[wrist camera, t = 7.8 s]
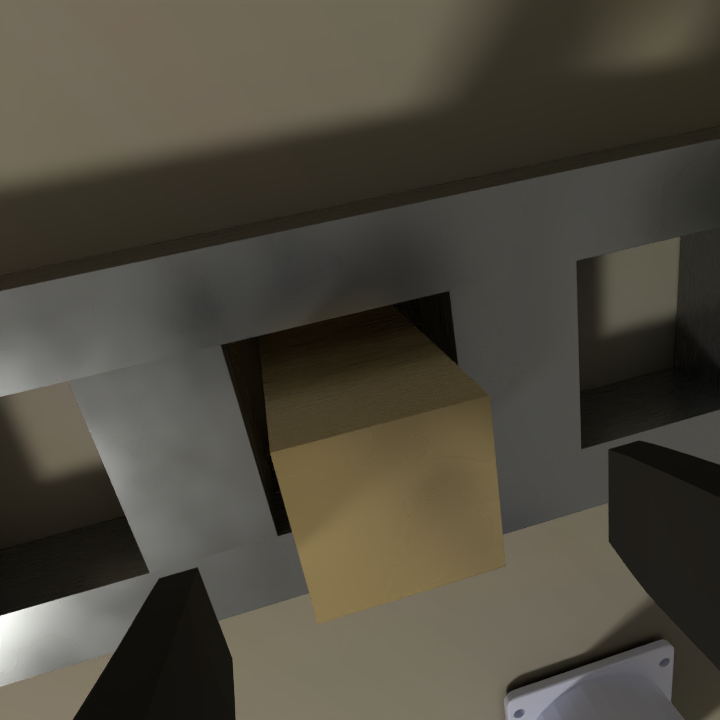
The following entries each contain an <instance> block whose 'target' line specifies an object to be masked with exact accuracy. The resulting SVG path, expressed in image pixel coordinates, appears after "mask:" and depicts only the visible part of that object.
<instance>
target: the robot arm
mask: <svg viewBox="0 0 720 720" xmlns="http://www.w3.org/2000/svg"><path fill="white" fill-rule="evenodd" d="M608 492H609V542H610V544H611V545H612V547H613V548H614V549H615V551H616V552H617V554H618V555H619V556H620V558H621V559H622V560H623V562H624V563H625V565H626V566H627V567H628V569H629V570H630V571H631V573H632V574H633V575H634V577H635V578H636V579H637V581H638V582H639V583H640V584H641V586H642V587H643V588H644V590H645V591H646V592H647V593H648V595H649V596H650V597H651V598H652V599H653V600H654V601H655V602H656V603H657V604H658V605H659V607H660V608H661V609H662V610H663V611H664V612H665V613H666V614H667V615H668V616H669V617H670V618H671V619H672V620H673V622H674V623H675V624H676V625H677V626H678V627H679V628H680V629H681V630H682V631H683V632H684V633H685V634H686V635H687V636H688V638H689V639H690V640H691V641H692V642H693V643H694V644H695V645H696V646H697V647H698V648H699V649H700V650H701V651H702V652H703V653H704V654H705V655H706V656H707V657H708V659H709V660H710V661H711V662H712V663H713V664H714V665H715V666H716V667H717V668H718V669H719V670H720V465H719V464H716V463H713V462H710V461H707V460H704V459H701V458H698V457H695V456H692V455H689V454H685V453H682V452H679V451H676V450H673V449H669V448H666V447H663V446H659V445H656V444H652V443H648V442H644V441H640V440H639V441H635V442H632V443H628V444H625V445H621V446H618V447H614V448H611V449H608ZM673 662H674V647H673V646H672V645H671V644H670V643H669V642H668V641H667V640H664V639H662V640H658V641H655V642H652V643H649V644H646V645H643V646H640V647H637V648H634V649H631V650H628V651H626V652H623V653H620V654H617V655H614V656H611V657H608V658H605V659H602V660H599V661H596V662H594V663H591V664H588V665H585V666H582V667H579V668H576V669H573V670H570V671H567V672H564V673H562V674H559V675H556V676H553V677H550V678H547V679H544V680H541V681H538V682H535V683H533V684H530V685H527V686H524V687H521V688H518V689H515V690H513V691H511V692H509V693H508V694H507V695H506V697H505V698H504V707H505V716H506V720H685V719H684V718H683V717H682V715H681V714H680V713H679V712H678V710H677V709H676V708H675V707H674V705H673V704H672V703H671V695H672V679H673ZM73 720H235V697H234V679H233V662H232V657H231V654H230V651H229V649H228V646H227V643H226V641H225V638H224V635H223V633H222V630H221V627H220V625H219V622H218V620H217V617H216V614H215V612H214V609H213V606H212V604H211V601H210V598H209V596H208V593H207V590H206V588H205V585H204V582H203V580H202V577H201V575H200V572H199V569H198V567H196V568H193V569H190V570H186V571H183V572H179V573H176V574H172V575H169V576H165V577H162V578H159V579H158V581H157V582H156V584H155V585H154V587H153V589H152V590H151V592H150V593H149V595H148V597H147V598H146V600H145V602H144V603H143V605H142V607H141V609H140V610H139V612H138V614H137V615H136V617H135V619H134V620H133V622H132V624H131V626H130V627H129V629H128V631H127V632H126V634H125V636H124V637H123V639H122V641H121V642H120V644H119V646H118V647H117V649H116V651H115V652H114V654H113V656H112V657H111V659H110V661H109V662H108V664H107V666H106V667H105V669H104V671H103V672H102V674H101V675H100V677H99V679H98V680H97V682H96V683H95V685H94V687H93V688H92V690H91V691H90V693H89V695H88V696H87V698H86V699H85V701H84V703H83V704H82V706H81V708H80V709H79V711H78V712H77V714H76V716H75V717H74V719H73Z"/></svg>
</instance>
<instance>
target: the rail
mask: <svg viewBox="0 0 720 720" xmlns="http://www.w3.org/2000/svg"><path fill="white" fill-rule="evenodd" d="M679 236H681V240H680V260H679V281H678V302H677V323H676V344H675V365H674V368H670V369H667V370H663V371H659V372H655V373H652V374H648V375H644V376H641V377H637V378H633V379H630V380H626V381H622V382H619V383H615V384H611V385H608V386H604V387H600V388H596V389H593V390H589V391H585V392H582V393H580V383H579V344H578V305H577V267H576V261H578V260H582V259H586V258H591V257H595V256H599V255H603V254H607V253H612V252H616V251H620V250H624V249H629V248H633V247H637V246H641V245H646V244H650V243H654V242H658V241H663V240H667V239H671V238H675V237H679ZM413 299H417V301H418V308H419V315H420V322H421V329H422V333H423V334H424V335H425V336H426V337H427V338H429V339H430V340H431V341H432V342H433V343H434V344H435V345H436V346H437V347H438V348H439V349H440V350H441V351H443V352H444V353H445V354H446V355H447V356H448V357H449V358H450V359H451V360H452V361H453V362H454V363H456V364H457V365H458V366H459V367H460V368H461V369H462V370H463V371H464V372H465V373H466V374H467V375H468V376H470V377H471V378H472V379H473V380H474V381H475V382H476V383H477V384H478V385H479V386H480V387H481V388H482V389H484V390H485V391H486V392H487V393H488V394H489V395H490V402H491V413H492V424H493V435H494V445H495V456H496V467H497V478H498V489H499V500H500V510H501V521H502V532H503V534H506V533H509V532H513V531H516V530H519V529H523V528H526V527H529V526H533V525H536V524H539V523H543V522H546V521H549V520H552V519H556V518H559V517H562V516H566V515H569V514H572V513H576V512H579V511H582V510H585V509H589V508H592V507H595V506H599V505H602V504H605V503H609V492H608V449H611V448H614V447H618V446H621V445H625V444H628V443H632V442H635V441H639V440H640V441H644V442H648V443H652V444H656V445H659V446H663V447H666V448H669V449H673V450H676V451H679V452H682V453H685V454H689V455H692V456H695V457H698V458H701V459H704V460H707V461H710V462H713V463H716V464H719V465H720V126H719V127H714V128H709V129H704V130H700V131H695V132H690V133H685V134H681V135H676V136H671V137H666V138H661V139H657V140H652V141H647V142H642V143H637V144H633V145H628V146H623V147H618V148H613V149H609V150H604V151H599V152H594V153H589V154H585V155H580V156H575V157H570V158H565V159H561V160H556V161H551V162H546V163H541V164H537V165H532V166H527V167H522V168H517V169H513V170H508V171H503V172H498V173H493V174H489V175H484V176H479V177H474V178H469V179H465V180H460V181H455V182H450V183H445V184H441V185H436V186H431V187H426V188H421V189H417V190H412V191H407V192H402V193H397V194H393V195H388V196H383V197H378V198H373V199H369V200H364V201H359V202H354V203H349V204H345V205H340V206H335V207H330V208H325V209H321V210H316V211H311V212H306V213H301V214H297V215H292V216H287V217H282V218H277V219H273V220H268V221H263V222H258V223H253V224H249V225H244V226H239V227H234V228H229V229H225V230H220V231H215V232H210V233H205V234H201V235H196V236H191V237H186V238H181V239H177V240H172V241H167V242H162V243H157V244H153V245H148V246H143V247H138V248H133V249H129V250H124V251H119V252H114V253H109V254H105V255H100V256H95V257H90V258H85V259H81V260H76V261H71V262H66V263H61V264H57V265H52V266H47V267H42V268H38V269H33V270H28V271H23V272H18V273H14V274H9V275H4V276H0V397H2V396H6V395H10V394H14V393H19V392H23V391H27V390H31V389H36V388H40V387H44V386H48V385H53V384H57V383H61V382H65V381H68V382H69V384H70V386H71V389H72V391H73V393H74V396H75V398H76V401H77V403H78V405H79V408H80V410H81V412H82V415H83V417H84V419H85V422H86V424H87V426H88V429H89V431H90V433H91V436H92V438H93V440H94V443H95V445H96V448H97V450H98V452H99V455H100V457H101V459H102V462H103V464H104V466H105V469H106V471H107V473H108V476H109V478H110V480H111V483H112V485H113V487H114V490H115V492H116V495H117V497H118V499H119V502H120V504H121V506H122V509H123V511H124V513H125V517H121V518H117V519H114V520H110V521H106V522H103V523H99V524H95V525H92V526H88V527H84V528H81V529H77V530H73V531H69V532H66V533H62V534H58V535H55V536H51V537H47V538H44V539H40V540H36V541H33V542H29V543H25V544H22V545H18V546H14V547H10V548H7V549H3V550H0V687H1V686H4V685H7V684H11V683H14V682H17V681H20V680H24V679H27V678H30V677H34V676H37V675H40V674H44V673H47V672H50V671H53V670H57V669H60V668H63V667H67V666H70V665H73V664H77V663H80V662H83V661H87V660H90V659H93V658H96V657H100V656H103V655H106V654H110V653H113V652H115V651H116V649H117V647H118V646H119V644H120V642H121V641H122V639H123V637H124V636H125V634H126V632H127V631H128V629H129V627H130V626H131V624H132V622H133V620H134V619H135V617H136V615H137V614H138V612H139V610H140V609H141V607H142V605H143V603H144V602H145V600H146V598H147V597H148V595H149V593H150V592H151V590H152V589H153V587H154V585H155V584H156V582H157V581H158V579H159V578H162V577H165V576H169V575H172V574H176V573H179V572H183V571H186V570H190V569H193V568H196V567H198V569H199V572H200V575H201V577H202V580H203V582H204V585H205V588H206V590H207V593H208V596H209V598H210V601H211V604H212V606H213V609H214V612H215V614H216V617H217V620H218V621H219V620H222V619H225V618H229V617H232V616H235V615H239V614H242V613H245V612H248V611H252V610H255V609H258V608H262V607H265V606H268V605H272V604H275V603H278V602H281V601H285V600H288V599H291V598H295V597H298V596H301V595H305V594H308V593H309V590H308V587H307V583H306V579H305V576H304V572H303V569H302V565H301V562H300V558H299V554H298V551H297V547H296V544H295V540H294V537H293V533H292V529H291V526H290V522H289V519H288V515H287V512H286V508H285V504H284V501H283V497H282V494H281V490H280V487H279V483H278V480H277V476H272V475H271V472H270V468H269V465H268V461H267V458H266V454H265V451H264V448H263V444H262V441H261V437H260V434H259V430H258V427H257V423H256V420H255V416H254V413H253V409H252V406H251V402H250V399H249V395H248V392H247V388H246V385H245V381H244V378H243V375H242V371H241V368H240V364H239V361H238V357H237V354H236V350H235V347H234V343H233V342H235V341H239V340H243V339H247V338H252V337H256V336H260V335H264V334H269V333H273V332H277V331H281V330H286V329H290V328H294V327H298V326H303V325H307V324H311V323H315V322H319V321H324V320H328V319H332V318H336V317H341V316H345V315H349V314H353V313H358V312H362V311H366V310H370V309H375V308H379V307H383V306H387V305H391V304H396V303H400V302H404V301H408V300H413Z"/></svg>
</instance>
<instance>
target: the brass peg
mask: <svg viewBox="0 0 720 720" xmlns="http://www.w3.org/2000/svg"><path fill="white" fill-rule="evenodd" d="M259 346H260V356H261V366H262V376H263V386H264V396H265V407H266V417H267V427H268V437H269V447H270V455H271V458H272V462H273V465H274V469H275V472H276V476H277V480H278V483H279V487H280V490H281V494H282V497H283V501H284V504H285V508H286V512H287V515H288V519H289V522H290V526H291V529H292V533H293V537H294V540H295V544H296V547H297V551H298V554H299V558H300V562H301V565H302V569H303V572H304V576H305V579H306V583H307V587H308V590H309V594H310V597H311V601H312V604H313V608H314V612H315V615H316V619H317V622H318V624H320V623H323V622H326V621H330V620H333V619H336V618H339V617H342V616H346V615H349V614H352V613H355V612H359V611H362V610H365V609H368V608H372V607H375V606H378V605H381V604H385V603H388V602H391V601H394V600H398V599H401V598H404V597H407V596H411V595H414V594H417V593H420V592H424V591H427V590H430V589H433V588H437V587H440V586H443V585H446V584H450V583H453V582H456V581H459V580H463V579H466V578H469V577H472V576H476V575H479V574H482V573H485V572H489V571H492V570H495V569H498V568H501V567H505V566H506V564H505V554H504V543H503V532H502V521H501V510H500V500H499V489H498V478H497V467H496V456H495V445H494V435H493V424H492V413H491V402H490V395H489V394H488V393H487V392H486V391H485V390H484V389H482V388H481V387H480V386H479V385H478V384H477V383H476V382H475V381H474V380H473V379H472V378H471V377H470V376H468V375H467V374H466V373H465V372H464V371H463V370H462V369H461V368H460V367H459V366H458V365H457V364H456V363H454V362H453V361H452V360H451V359H450V358H449V357H448V356H447V355H446V354H445V353H444V352H443V351H441V350H440V349H439V348H438V347H437V346H436V345H435V344H434V343H433V342H432V341H431V340H430V339H429V338H427V337H426V336H425V335H424V334H423V333H422V332H421V331H420V330H419V329H418V328H417V327H416V326H415V325H413V324H412V323H411V322H410V321H409V320H408V319H407V318H406V317H405V316H404V315H403V314H402V313H400V312H399V311H398V310H397V309H396V308H395V307H394V306H393V305H392V304H391V305H387V306H383V307H379V308H375V309H370V310H366V311H362V312H358V313H353V314H349V315H345V316H341V317H336V318H332V319H328V320H324V321H319V322H315V323H311V324H307V325H303V326H298V327H294V328H290V329H286V330H281V331H277V332H273V333H269V334H264V335H260V336H259Z"/></svg>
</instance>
